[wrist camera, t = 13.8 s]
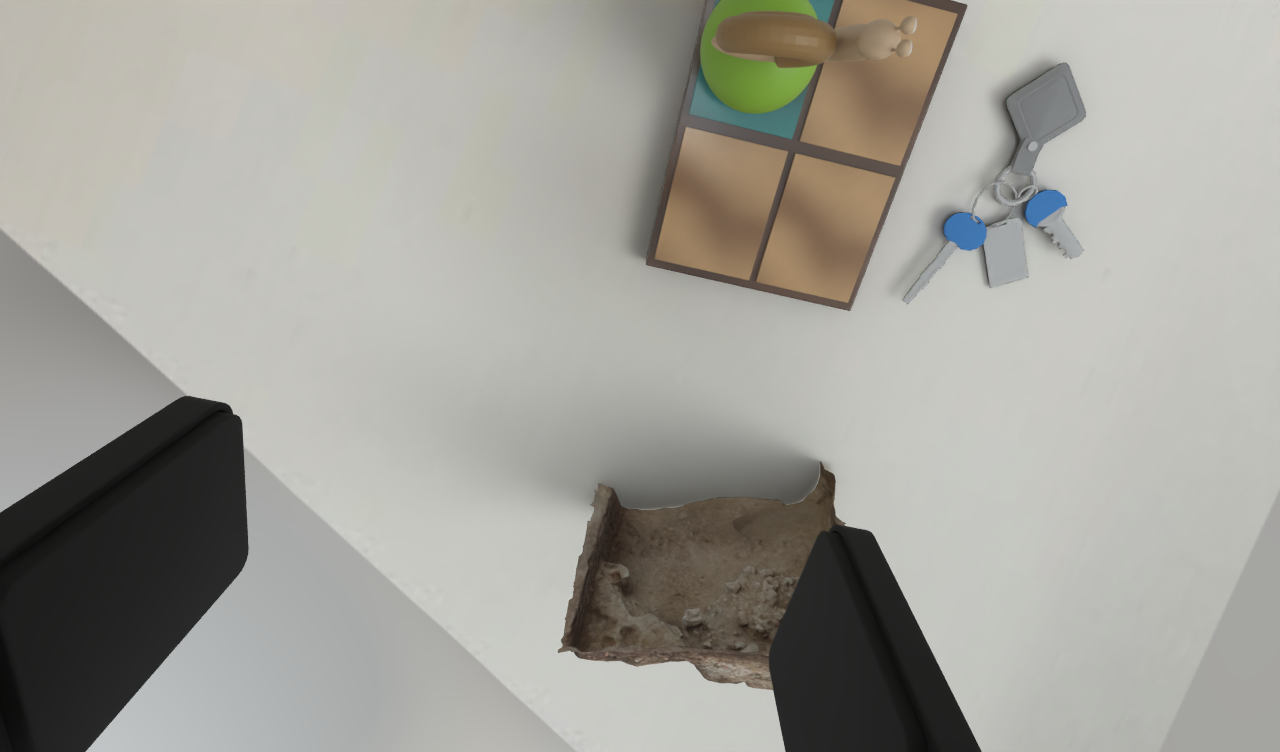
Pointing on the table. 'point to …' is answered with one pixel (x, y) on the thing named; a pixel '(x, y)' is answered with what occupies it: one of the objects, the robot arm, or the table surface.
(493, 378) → the table surface
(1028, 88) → the key chain
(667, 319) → the table surface
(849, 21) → the game board
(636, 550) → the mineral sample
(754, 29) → the snail figurine
